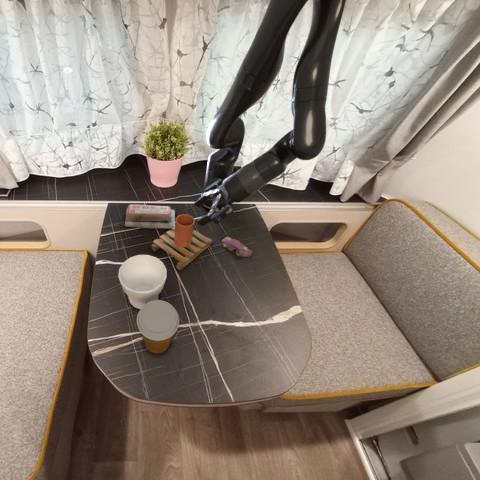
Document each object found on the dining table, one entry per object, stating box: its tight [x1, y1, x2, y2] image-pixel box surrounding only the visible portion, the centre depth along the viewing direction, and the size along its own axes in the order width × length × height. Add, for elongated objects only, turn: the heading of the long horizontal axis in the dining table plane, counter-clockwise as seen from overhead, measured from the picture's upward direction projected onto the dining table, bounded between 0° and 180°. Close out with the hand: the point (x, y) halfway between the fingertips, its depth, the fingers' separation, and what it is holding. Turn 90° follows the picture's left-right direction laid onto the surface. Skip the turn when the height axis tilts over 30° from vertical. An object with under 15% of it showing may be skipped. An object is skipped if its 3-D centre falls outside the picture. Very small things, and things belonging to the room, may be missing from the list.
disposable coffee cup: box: [136, 299, 180, 354], centre depth 64 cm, size 10×10×12 cm
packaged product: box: [124, 203, 176, 230], centre depth 99 cm, size 18×5×10 cm
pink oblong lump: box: [221, 236, 253, 258], centre depth 88 cm, size 10×5×7 cm, turn 47°
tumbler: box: [173, 213, 196, 248], centre depth 86 cm, size 6×6×9 cm
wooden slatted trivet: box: [151, 226, 213, 271], centre depth 90 cm, size 16×13×3 cm
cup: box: [117, 254, 168, 310], centre depth 73 cm, size 12×12×11 cm
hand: (197, 214), depth 81 cm, fingers open, 8 cm apart
